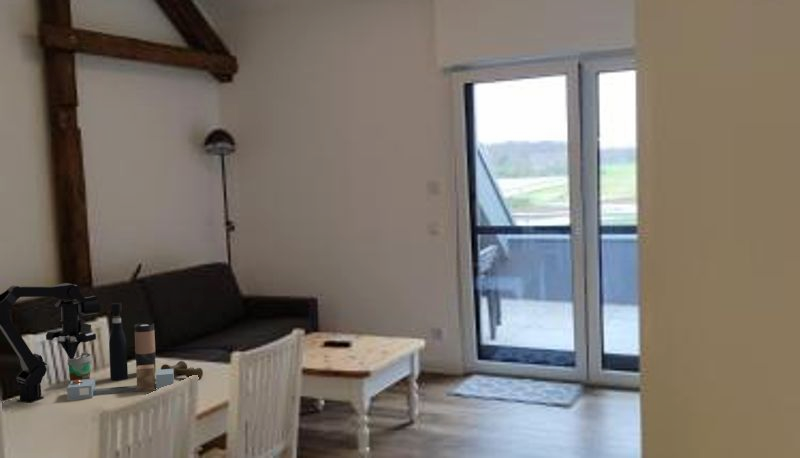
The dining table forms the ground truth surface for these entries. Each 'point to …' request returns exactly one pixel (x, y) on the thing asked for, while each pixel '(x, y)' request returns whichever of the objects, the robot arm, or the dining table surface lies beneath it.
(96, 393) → the rail
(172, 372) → the end block
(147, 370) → the block
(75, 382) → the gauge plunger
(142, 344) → the travel mug
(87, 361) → the food container
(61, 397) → the dining table surface
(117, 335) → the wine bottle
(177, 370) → the kendama
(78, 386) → the cabinet
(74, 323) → the robot arm
